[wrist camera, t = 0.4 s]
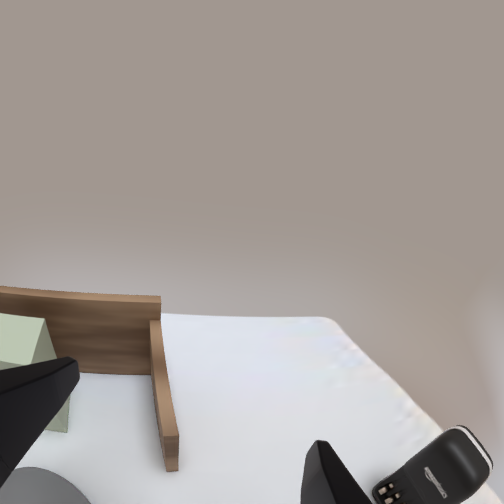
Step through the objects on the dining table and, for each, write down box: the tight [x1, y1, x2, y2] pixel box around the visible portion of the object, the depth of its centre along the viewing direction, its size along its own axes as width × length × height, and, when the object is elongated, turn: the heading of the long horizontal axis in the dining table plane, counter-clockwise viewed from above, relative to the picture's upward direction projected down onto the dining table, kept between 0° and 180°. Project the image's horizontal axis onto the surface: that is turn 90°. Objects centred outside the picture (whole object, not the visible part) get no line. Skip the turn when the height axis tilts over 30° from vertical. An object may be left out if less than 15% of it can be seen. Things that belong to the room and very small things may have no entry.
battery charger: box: [373, 425, 493, 504], centre depth 13 cm, size 7×4×11 cm, turn 17°
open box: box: [0, 286, 179, 472], centre depth 16 cm, size 12×25×10 cm, turn 109°
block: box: [0, 313, 70, 433], centre depth 16 cm, size 5×5×10 cm
